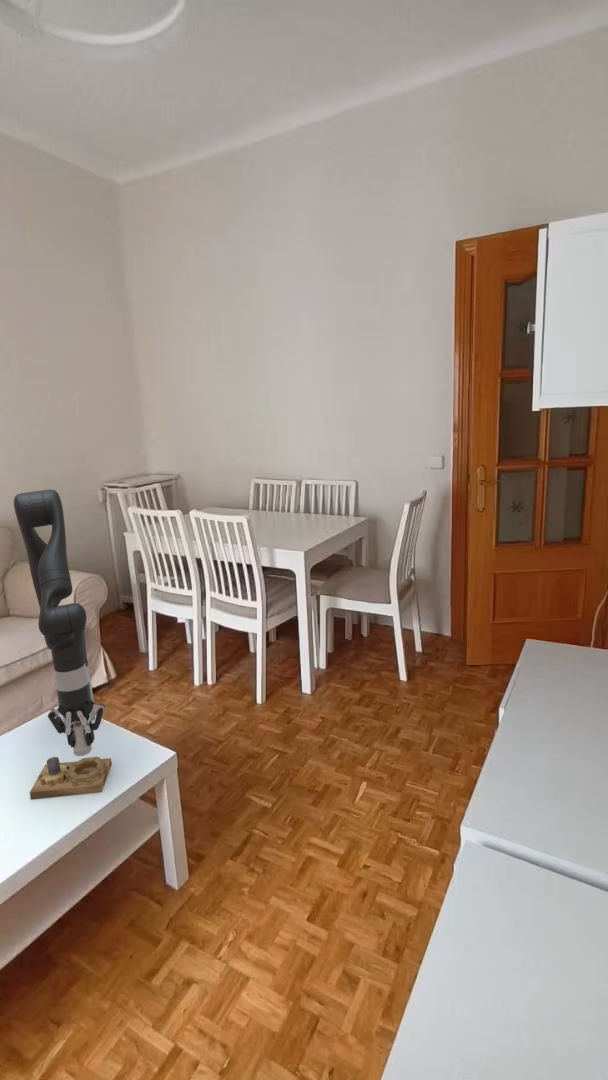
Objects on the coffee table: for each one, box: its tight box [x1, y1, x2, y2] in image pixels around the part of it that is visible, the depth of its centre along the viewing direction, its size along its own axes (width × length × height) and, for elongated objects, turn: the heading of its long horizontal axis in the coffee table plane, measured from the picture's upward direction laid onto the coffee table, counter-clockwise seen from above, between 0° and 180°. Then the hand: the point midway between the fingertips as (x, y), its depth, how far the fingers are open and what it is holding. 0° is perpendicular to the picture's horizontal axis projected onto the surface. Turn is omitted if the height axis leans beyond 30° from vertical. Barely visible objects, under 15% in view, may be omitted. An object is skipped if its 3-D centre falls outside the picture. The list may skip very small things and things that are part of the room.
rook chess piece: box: [72, 721, 93, 757], centre depth 139 cm, size 4×4×8 cm
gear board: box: [29, 756, 113, 800], centre depth 141 cm, size 11×17×7 cm, turn 96°
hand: (81, 744), depth 139 cm, fingers closed on rook chess piece, 3 cm apart
